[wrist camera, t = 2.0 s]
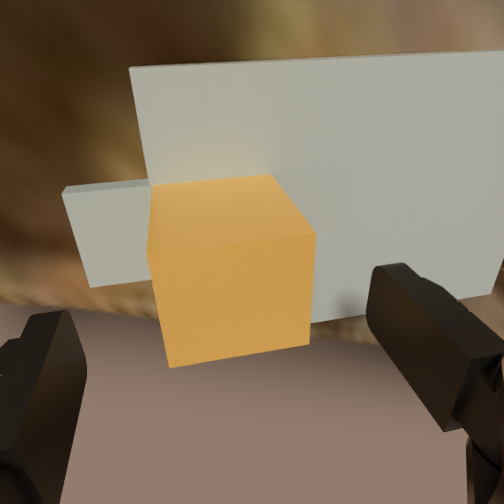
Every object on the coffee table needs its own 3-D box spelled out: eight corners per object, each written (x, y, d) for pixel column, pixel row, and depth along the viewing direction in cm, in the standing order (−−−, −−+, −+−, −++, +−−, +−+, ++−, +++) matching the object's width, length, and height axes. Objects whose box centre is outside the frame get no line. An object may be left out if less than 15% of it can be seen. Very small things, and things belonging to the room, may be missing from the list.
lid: (536, 46, 16) (761, 50, 10) (464, 273, 22) (578, 363, 16) (43, 68, 13) (-66, 95, 7) (116, 326, 18) (92, 462, 13)
